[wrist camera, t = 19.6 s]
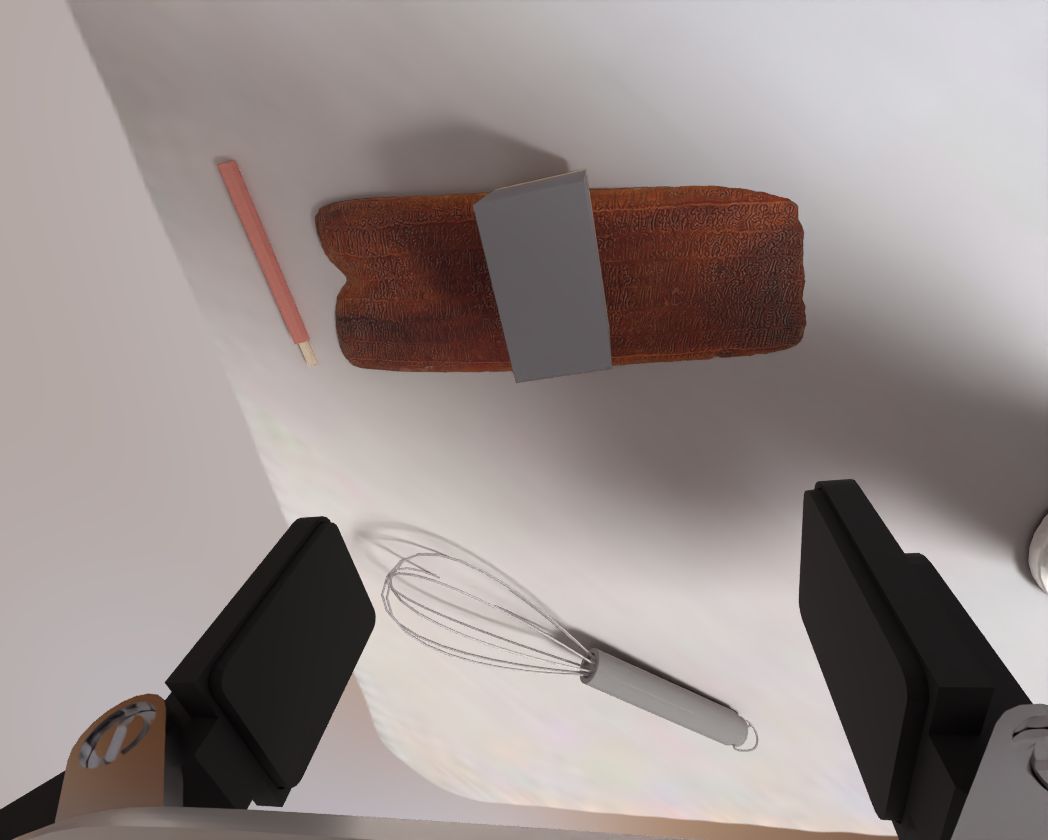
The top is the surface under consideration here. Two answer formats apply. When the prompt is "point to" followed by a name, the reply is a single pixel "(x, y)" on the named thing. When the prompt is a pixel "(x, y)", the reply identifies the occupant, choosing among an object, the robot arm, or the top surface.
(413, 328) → the wooden tablet
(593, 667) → the kitchen whisk
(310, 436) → the top surface
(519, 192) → the sanding block
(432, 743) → the top surface
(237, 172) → the carpenter pencil
